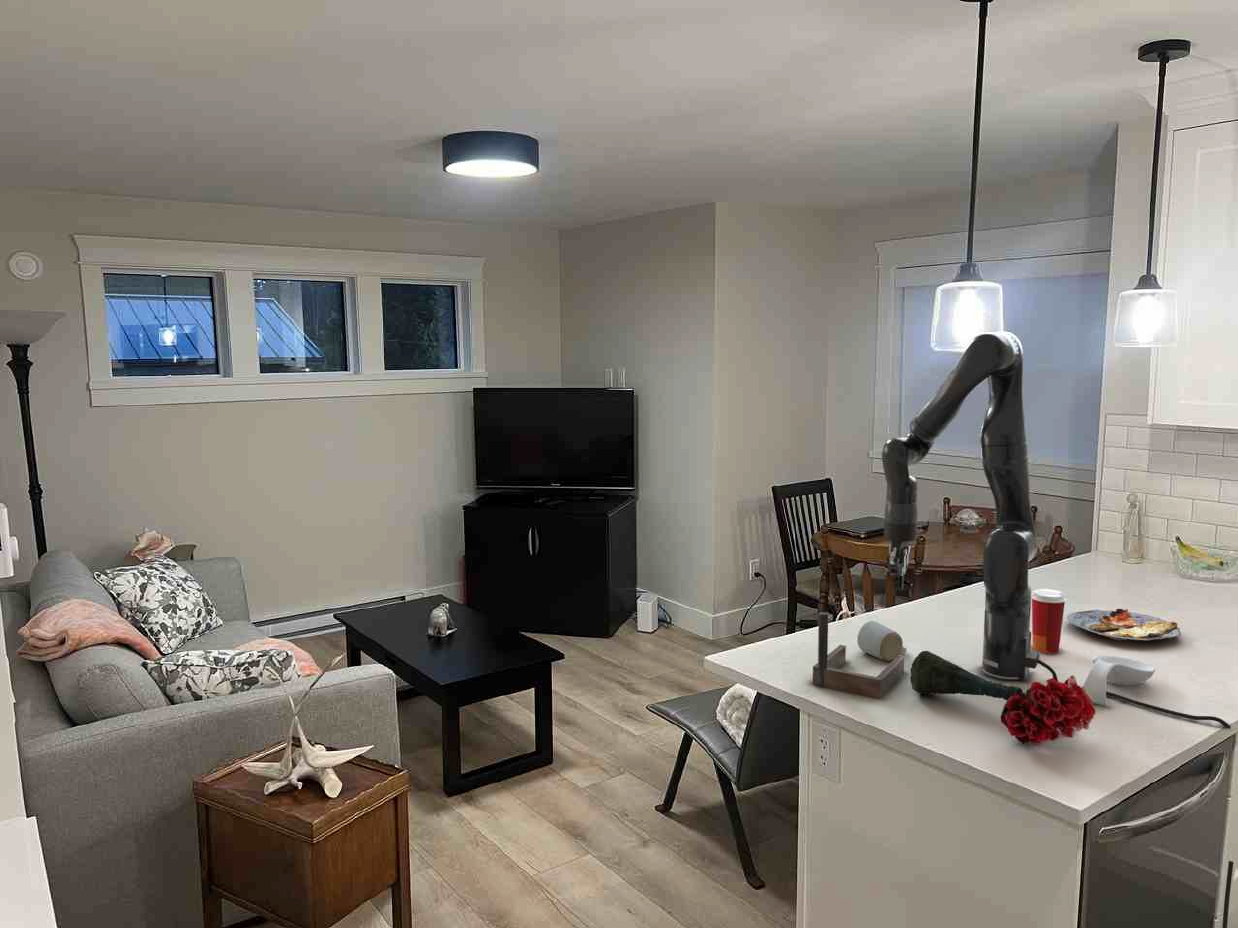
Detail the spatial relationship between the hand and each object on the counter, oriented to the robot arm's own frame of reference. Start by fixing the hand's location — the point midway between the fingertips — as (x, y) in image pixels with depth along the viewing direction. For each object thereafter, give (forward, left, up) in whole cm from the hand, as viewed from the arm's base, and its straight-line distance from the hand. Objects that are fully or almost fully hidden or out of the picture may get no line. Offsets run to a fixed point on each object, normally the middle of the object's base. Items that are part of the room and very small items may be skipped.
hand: (897, 589), depth 218 cm
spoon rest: (-47, +4, -14) cm, 49 cm away
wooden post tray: (0, +27, -14) cm, 31 cm away
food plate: (-45, -38, -14) cm, 61 cm away
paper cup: (-31, -14, -14) cm, 37 cm away
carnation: (-30, +35, -14) cm, 47 cm away
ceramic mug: (0, +10, -14) cm, 17 cm away
